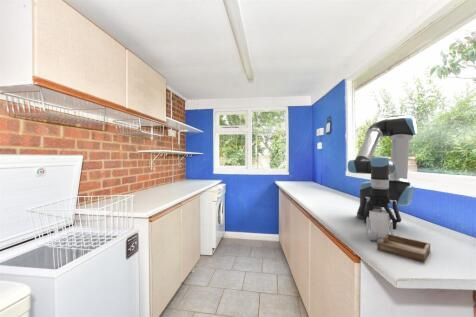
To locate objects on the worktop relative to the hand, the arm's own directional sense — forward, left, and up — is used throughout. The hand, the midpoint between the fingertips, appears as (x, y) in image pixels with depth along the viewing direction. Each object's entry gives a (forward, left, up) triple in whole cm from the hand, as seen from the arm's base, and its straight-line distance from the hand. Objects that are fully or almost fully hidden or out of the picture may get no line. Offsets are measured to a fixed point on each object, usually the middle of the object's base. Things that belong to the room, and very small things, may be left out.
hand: (379, 232), depth 108 cm
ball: (+10, 0, -1) cm, 10 cm away
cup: (0, 0, -1) cm, 1 cm away
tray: (+12, +12, -1) cm, 17 cm away
